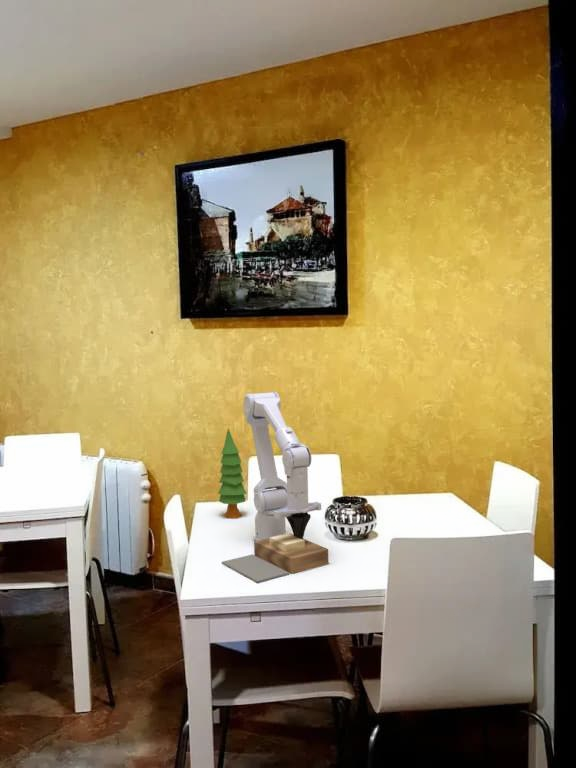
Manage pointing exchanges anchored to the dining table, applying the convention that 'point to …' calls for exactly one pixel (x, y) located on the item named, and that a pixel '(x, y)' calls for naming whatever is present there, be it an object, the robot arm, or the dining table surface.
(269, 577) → the rubber mat
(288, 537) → the birch tile
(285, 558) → the walnut deck
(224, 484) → the decorative tree
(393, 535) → the dining table surface
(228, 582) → the dining table surface
